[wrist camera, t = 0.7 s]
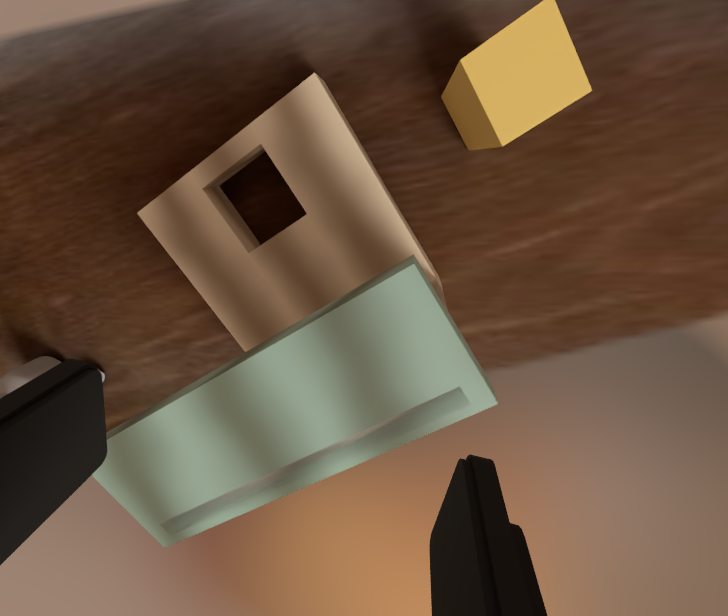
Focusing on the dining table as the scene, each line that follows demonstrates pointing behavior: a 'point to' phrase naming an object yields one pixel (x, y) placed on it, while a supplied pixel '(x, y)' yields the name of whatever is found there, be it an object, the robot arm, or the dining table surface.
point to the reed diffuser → (28, 374)
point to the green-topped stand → (293, 332)
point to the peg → (515, 80)
